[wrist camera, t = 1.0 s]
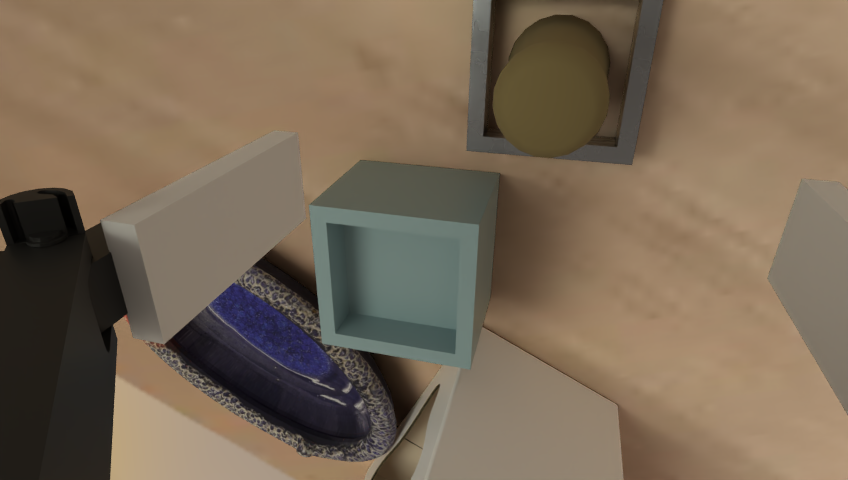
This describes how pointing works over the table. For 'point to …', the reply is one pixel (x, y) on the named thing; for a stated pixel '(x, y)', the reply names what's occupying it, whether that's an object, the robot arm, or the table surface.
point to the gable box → (504, 424)
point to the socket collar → (597, 147)
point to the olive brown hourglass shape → (553, 87)
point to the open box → (405, 260)
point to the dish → (284, 369)
